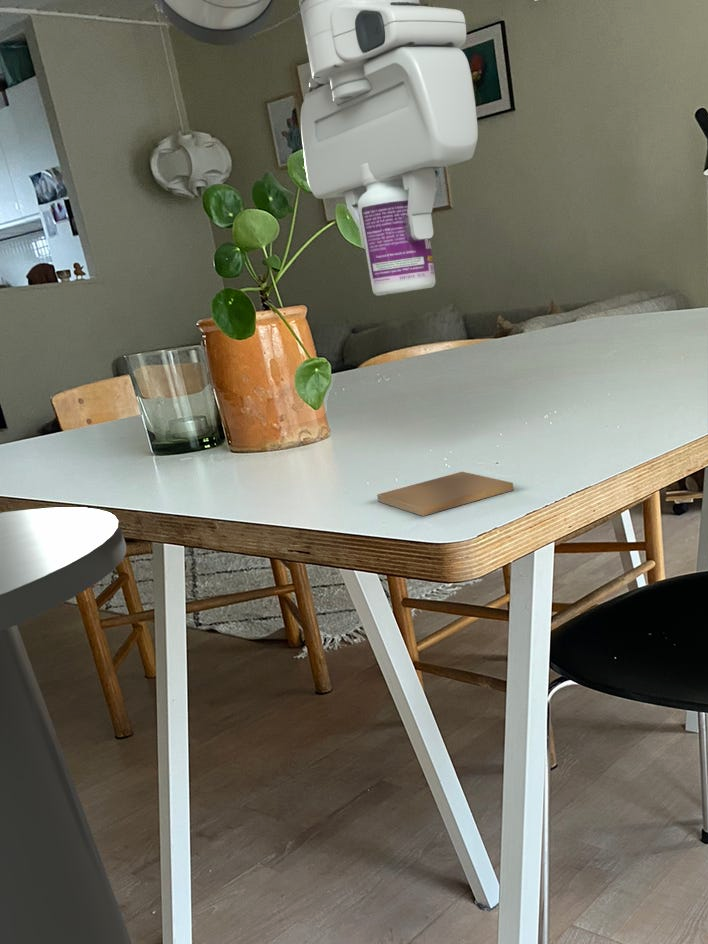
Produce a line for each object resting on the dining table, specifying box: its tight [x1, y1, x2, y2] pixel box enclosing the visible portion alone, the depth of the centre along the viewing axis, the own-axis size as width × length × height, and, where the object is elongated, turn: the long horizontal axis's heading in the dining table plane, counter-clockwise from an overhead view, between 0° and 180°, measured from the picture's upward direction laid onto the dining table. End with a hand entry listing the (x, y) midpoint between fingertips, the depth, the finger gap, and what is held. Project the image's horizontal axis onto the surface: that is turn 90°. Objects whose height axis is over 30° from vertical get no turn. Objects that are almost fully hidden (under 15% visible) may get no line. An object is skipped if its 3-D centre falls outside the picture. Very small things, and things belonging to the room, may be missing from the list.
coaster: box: [376, 471, 514, 517], centre depth 73 cm, size 8×8×1 cm
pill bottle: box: [358, 163, 437, 297], centre depth 75 cm, size 5×5×10 cm
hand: (397, 244), depth 75 cm, fingers closed on pill bottle, 5 cm apart
